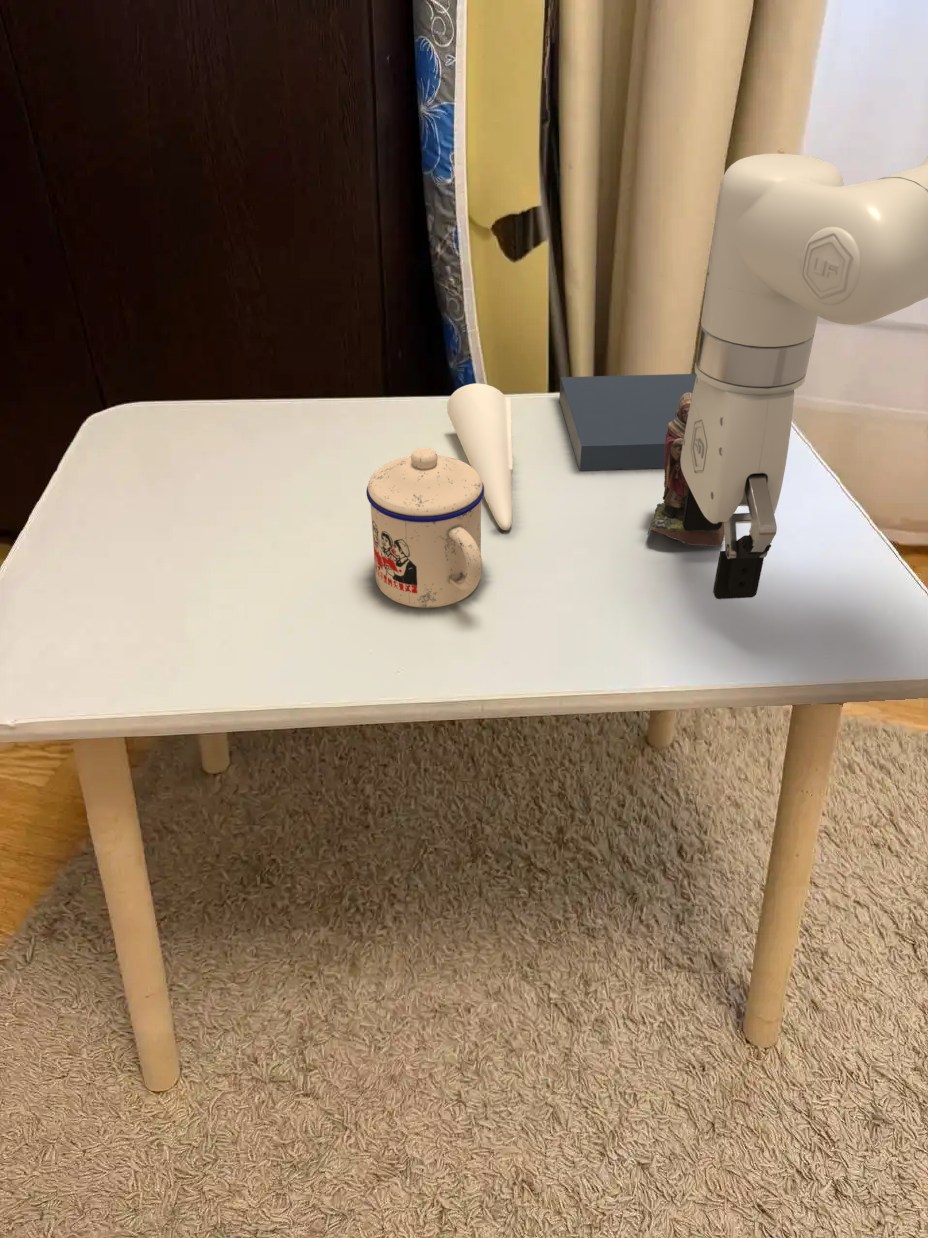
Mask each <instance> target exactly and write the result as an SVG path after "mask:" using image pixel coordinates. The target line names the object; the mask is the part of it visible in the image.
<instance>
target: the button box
mask: <svg viewBox="0 0 928 1238" xmlns="http://www.w3.org/2000/svg"><path fill="white" fill-rule="evenodd" d="M696 377H697V374H696V373H674V374H671V373H670V374H636V375H635V374H634V375H597V376H596V375H594V376H593V375H592V376H591V375H590V376H589V375H588V376H560V379H559V381H560V382H559V397H558V399H559V401H558V402H559V404H560V407H561V411H562V415H563V417H564V422H565V424H566V428H567V432H568V435H569V439H570V442H571V445H572V449H573V452H574V455H575V459H576V463H577V466H578V469H579V471H580V472H581V471H583V472H584V471H614V470H615V471H616V470H617V471H618V470H649V469H652V470H653V469H655V470H656V469H664V456H665V440H666V433H667V431H668V423H669V422H671V421H673V420H674V419H675V412H676V410H679V405H678V404H679V401H680V398H681V397H682V396H683V395H684V394H685V393H691V394H692V393H693V389H694V385H695V380H696Z"/></svg>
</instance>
